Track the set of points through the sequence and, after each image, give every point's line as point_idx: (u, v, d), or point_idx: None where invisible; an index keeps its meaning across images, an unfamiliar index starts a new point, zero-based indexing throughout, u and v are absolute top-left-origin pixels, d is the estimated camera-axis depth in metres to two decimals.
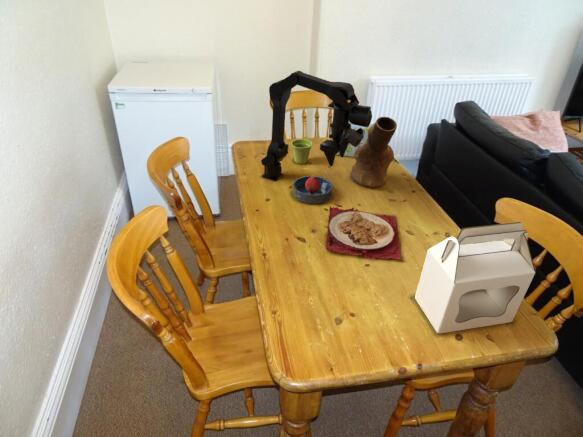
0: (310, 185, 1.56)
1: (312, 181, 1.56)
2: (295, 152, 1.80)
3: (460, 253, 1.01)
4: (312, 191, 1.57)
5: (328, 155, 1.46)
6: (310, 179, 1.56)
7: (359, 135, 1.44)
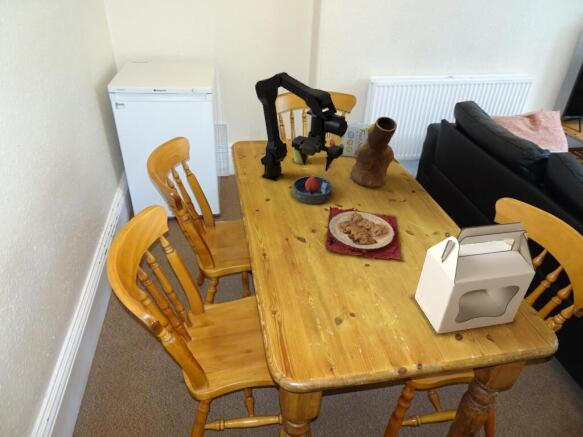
0: (310, 185, 1.56)
1: (312, 181, 1.56)
2: (295, 152, 1.80)
3: (460, 253, 1.01)
4: (312, 191, 1.57)
5: None
6: (310, 179, 1.56)
7: (310, 146, 1.42)
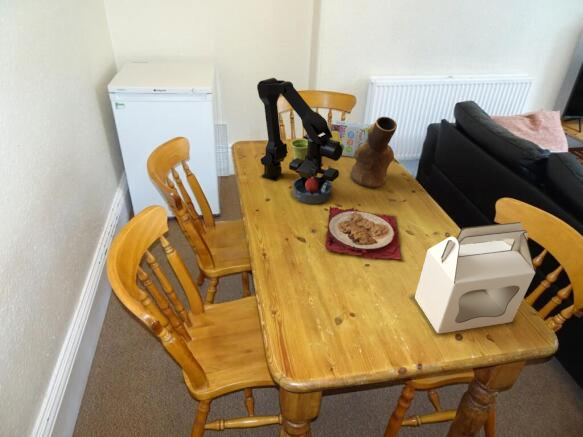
0: (310, 185, 1.56)
1: (312, 181, 1.56)
2: (295, 152, 1.80)
3: (460, 253, 1.01)
4: (312, 191, 1.57)
5: None
6: (310, 179, 1.56)
7: (306, 169, 1.47)
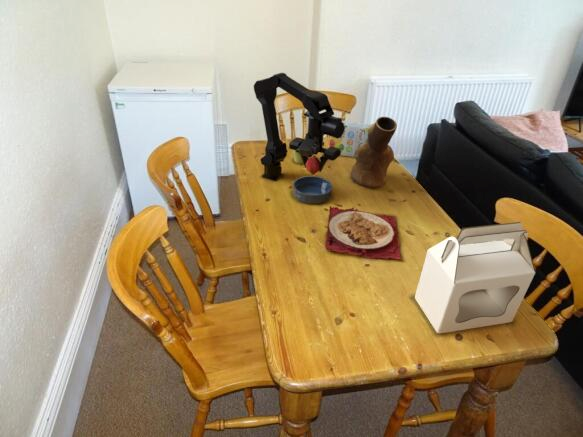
0: (311, 165, 1.51)
1: (313, 161, 1.51)
2: (295, 152, 1.80)
3: (460, 253, 1.01)
4: (313, 171, 1.53)
5: None
6: (311, 159, 1.52)
7: (307, 148, 1.43)
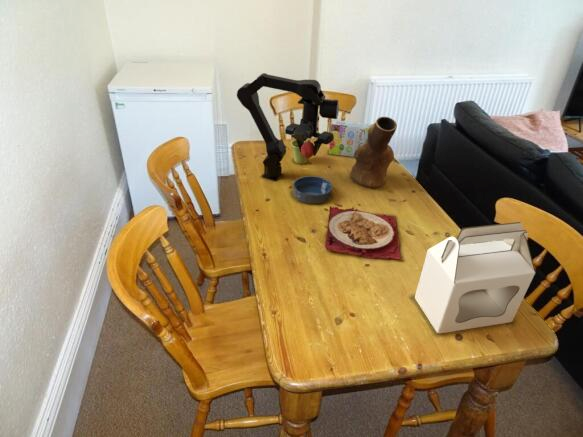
0: (306, 149, 1.59)
1: (308, 145, 1.59)
2: (295, 152, 1.80)
3: (460, 253, 1.01)
4: (307, 155, 1.60)
5: None
6: (305, 143, 1.59)
7: (301, 132, 1.51)
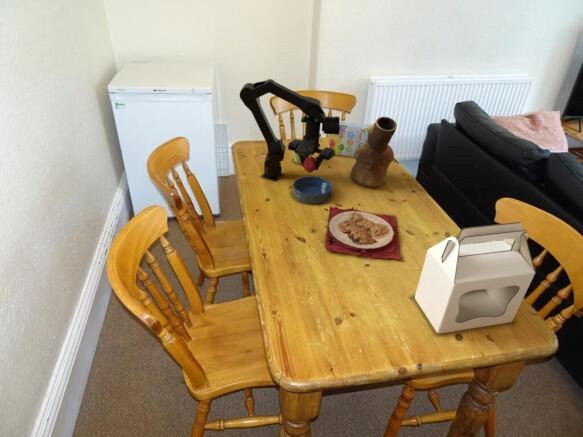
0: (308, 164, 1.65)
1: (310, 161, 1.65)
2: None
3: (460, 253, 1.01)
4: (310, 170, 1.67)
5: None
6: (308, 159, 1.66)
7: (304, 148, 1.57)
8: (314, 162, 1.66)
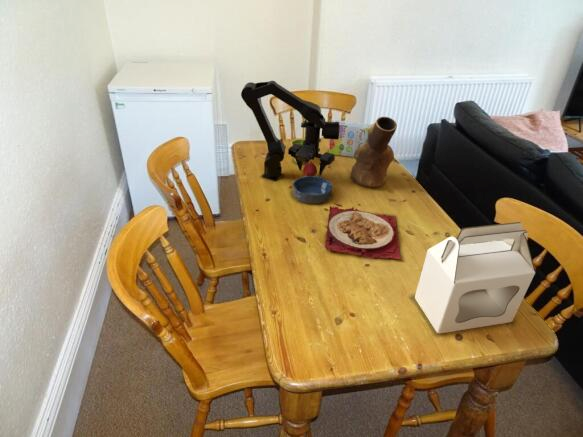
0: (308, 170, 1.67)
1: (310, 166, 1.67)
2: None
3: (460, 253, 1.01)
4: None
5: None
6: (307, 164, 1.67)
7: (304, 154, 1.58)
8: (314, 168, 1.67)
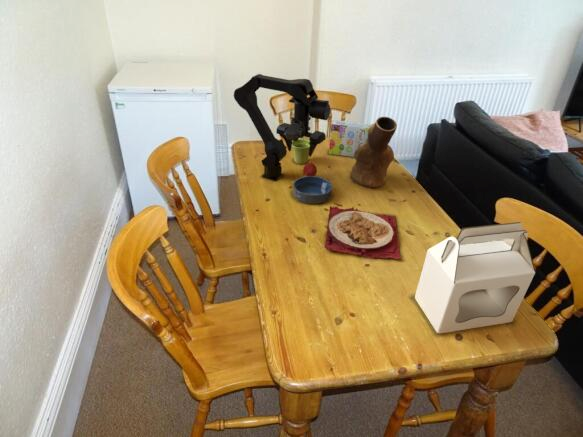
0: (308, 170, 1.67)
1: (310, 166, 1.67)
2: (295, 152, 1.80)
3: (460, 253, 1.01)
4: None
5: None
6: (307, 164, 1.67)
7: (293, 131, 1.49)
8: (314, 168, 1.67)
